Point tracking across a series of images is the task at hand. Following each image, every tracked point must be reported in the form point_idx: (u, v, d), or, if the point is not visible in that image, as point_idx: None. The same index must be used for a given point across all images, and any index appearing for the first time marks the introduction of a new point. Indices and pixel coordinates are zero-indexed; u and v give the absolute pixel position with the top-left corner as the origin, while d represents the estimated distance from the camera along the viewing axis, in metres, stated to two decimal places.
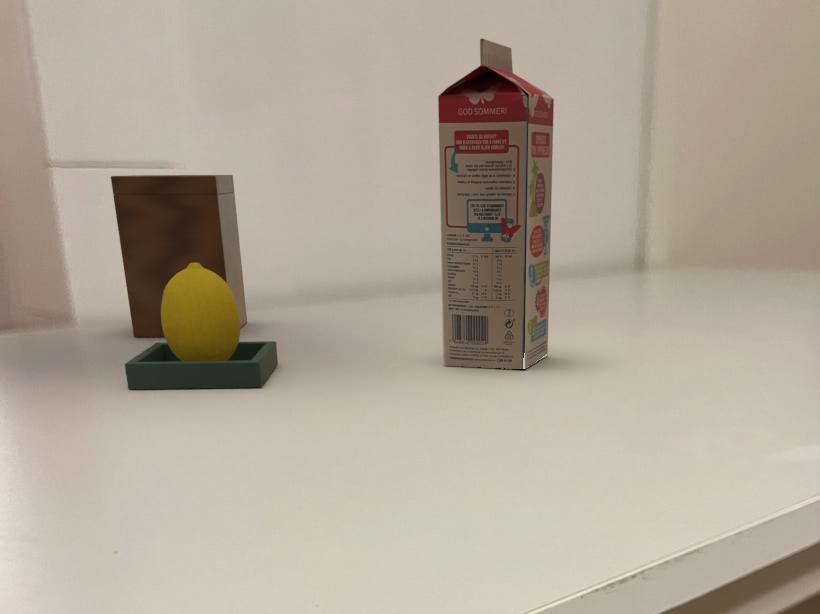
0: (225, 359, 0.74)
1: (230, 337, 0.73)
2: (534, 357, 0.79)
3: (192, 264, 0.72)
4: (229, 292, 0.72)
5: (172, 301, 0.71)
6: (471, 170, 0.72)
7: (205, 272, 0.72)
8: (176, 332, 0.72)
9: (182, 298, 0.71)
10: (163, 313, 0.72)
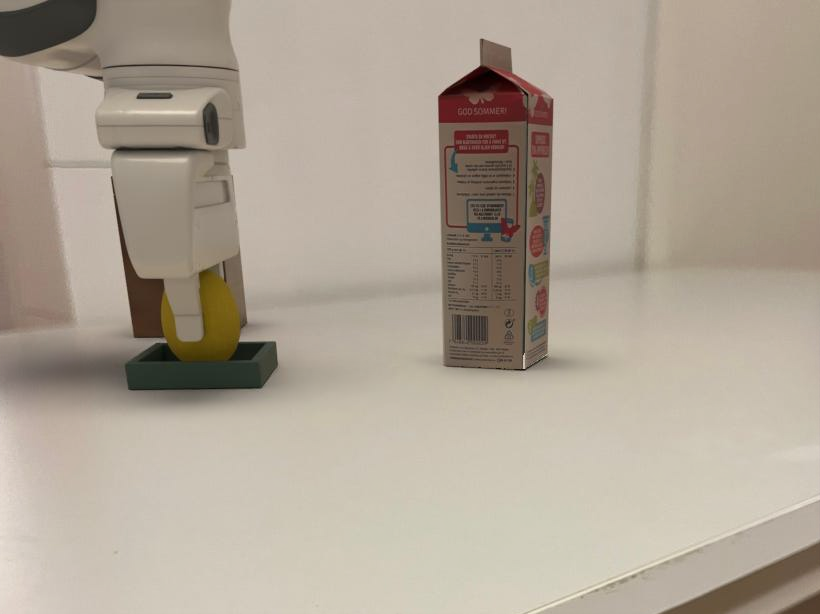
0: (225, 359, 0.74)
1: (230, 337, 0.73)
2: (534, 356, 0.79)
3: None
4: (229, 292, 0.72)
5: None
6: (471, 170, 0.72)
7: (205, 272, 0.72)
8: (175, 332, 0.72)
9: None
10: (163, 313, 0.72)
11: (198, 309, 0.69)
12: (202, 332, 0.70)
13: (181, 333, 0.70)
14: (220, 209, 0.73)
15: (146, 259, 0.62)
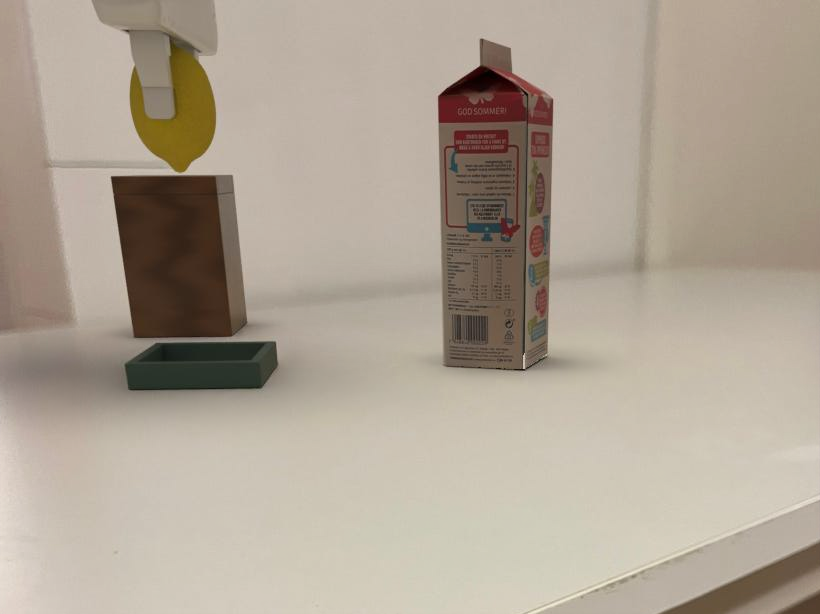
0: (199, 151, 0.68)
1: (204, 124, 0.67)
2: (534, 356, 0.79)
3: None
4: (204, 74, 0.67)
5: None
6: (471, 170, 0.72)
7: (178, 49, 0.66)
8: (145, 114, 0.66)
9: None
10: (131, 93, 0.66)
11: (168, 80, 0.63)
12: (173, 108, 0.64)
13: (150, 109, 0.64)
14: None
15: None
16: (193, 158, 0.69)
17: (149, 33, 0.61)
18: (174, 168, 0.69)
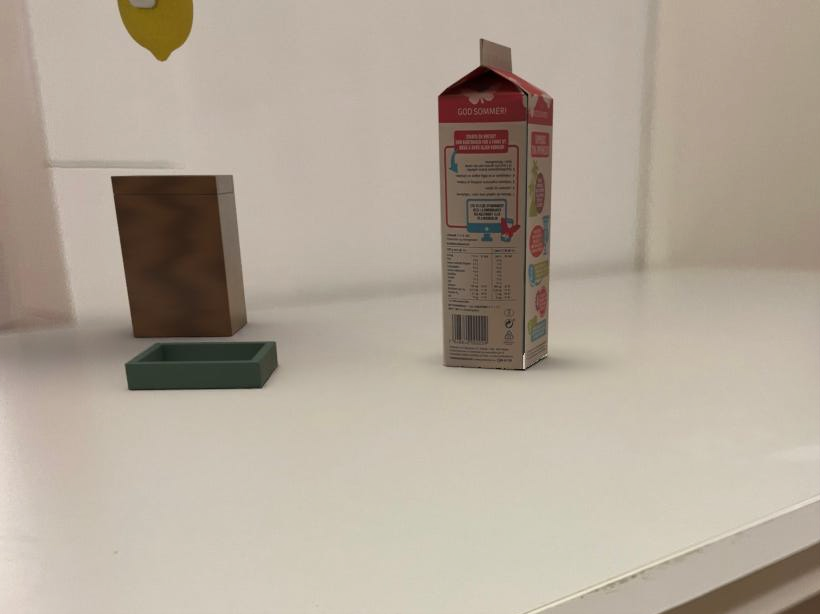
0: (178, 40, 0.77)
1: (182, 14, 0.76)
2: (534, 356, 0.79)
3: None
4: None
5: None
6: (471, 170, 0.72)
7: None
8: (129, 4, 0.75)
9: None
10: None
11: None
12: None
13: None
14: None
15: None
16: (172, 47, 0.77)
17: None
18: (156, 56, 0.78)
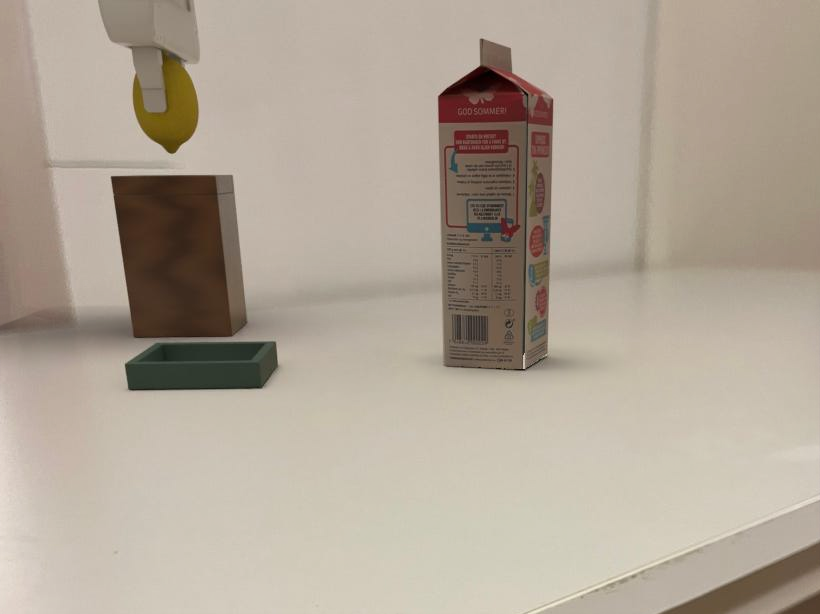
0: (186, 137, 0.89)
1: (189, 115, 0.88)
2: (534, 356, 0.79)
3: None
4: (189, 77, 0.88)
5: None
6: (471, 170, 0.72)
7: (169, 59, 0.87)
8: (144, 108, 0.87)
9: None
10: (134, 93, 0.87)
11: (161, 83, 0.84)
12: (165, 104, 0.85)
13: (147, 105, 0.85)
14: (181, 10, 0.88)
15: (116, 23, 0.78)
16: (181, 142, 0.90)
17: (146, 48, 0.83)
18: (167, 150, 0.90)
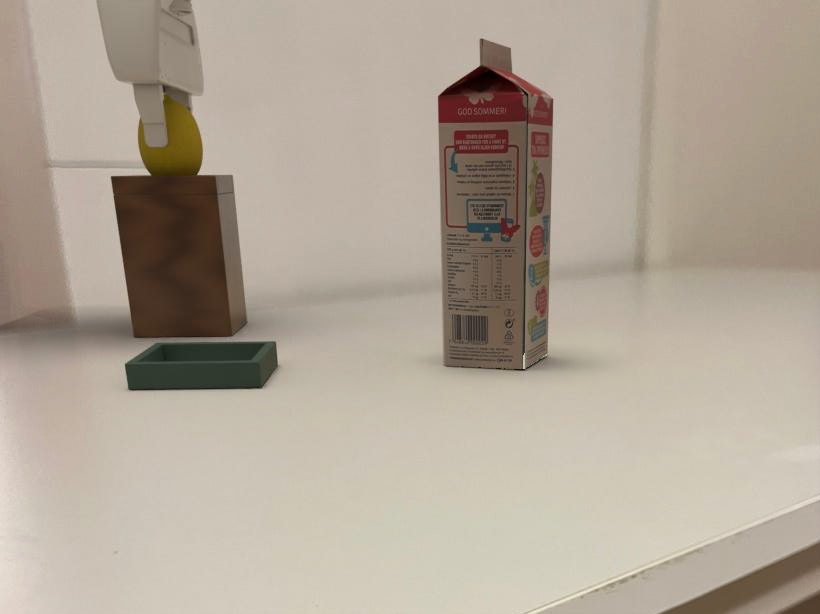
0: None
1: (194, 156, 0.90)
2: (534, 356, 0.79)
3: None
4: (193, 119, 0.89)
5: None
6: (471, 170, 0.72)
7: (173, 101, 0.88)
8: (149, 150, 0.88)
9: None
10: (139, 135, 0.89)
11: (162, 118, 0.84)
12: (166, 139, 0.85)
13: (149, 139, 0.85)
14: (185, 45, 0.89)
15: (122, 63, 0.79)
16: None
17: (147, 84, 0.83)
18: None
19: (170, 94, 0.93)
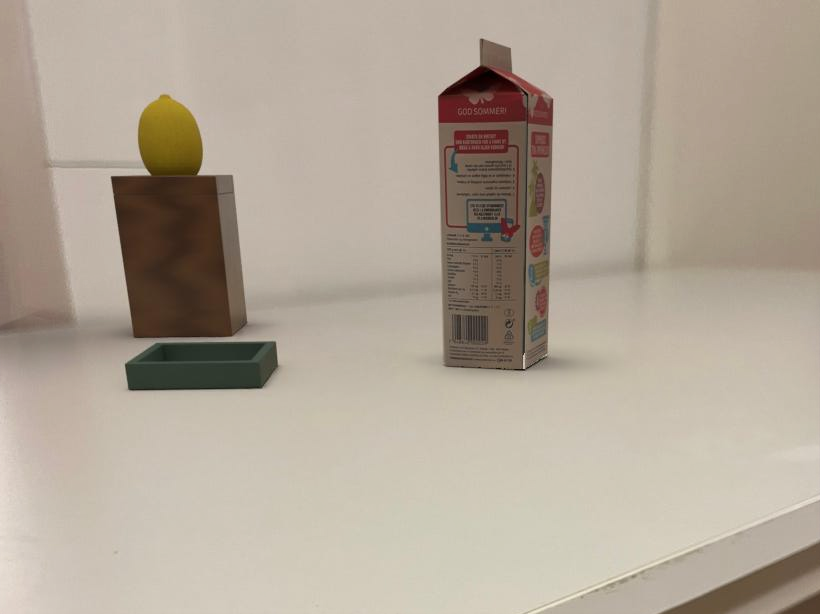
0: None
1: (194, 156, 0.90)
2: (534, 356, 0.79)
3: (163, 95, 0.88)
4: (193, 119, 0.89)
5: (146, 123, 0.88)
6: (471, 170, 0.72)
7: (173, 101, 0.88)
8: (149, 150, 0.88)
9: (154, 121, 0.87)
10: (139, 135, 0.89)
11: None
12: None
13: None
14: None
15: None
16: None
17: None
18: None
19: None
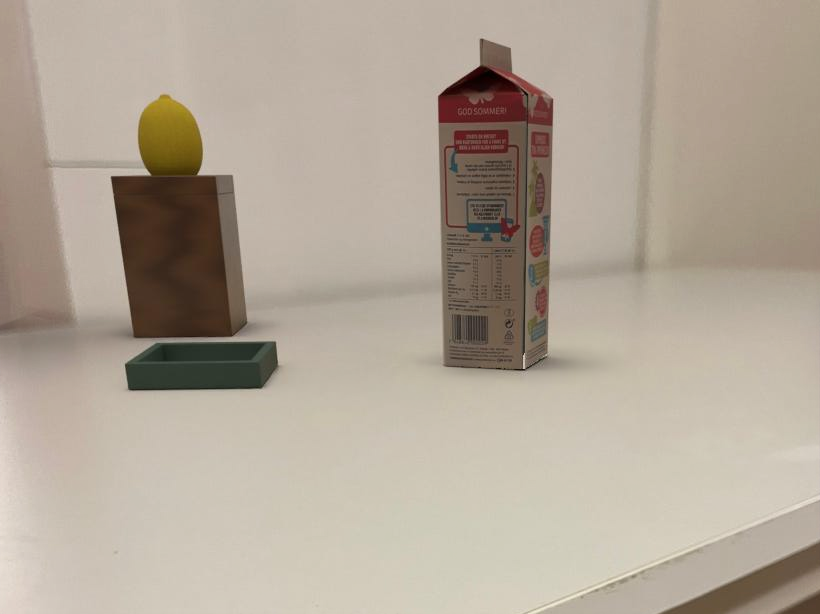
0: None
1: (194, 156, 0.90)
2: (534, 356, 0.79)
3: (163, 95, 0.88)
4: (193, 119, 0.89)
5: (146, 123, 0.88)
6: (471, 170, 0.72)
7: (173, 101, 0.88)
8: (149, 150, 0.88)
9: (154, 120, 0.87)
10: (139, 135, 0.89)
11: None
12: None
13: None
14: None
15: None
16: None
17: None
18: None
19: None
